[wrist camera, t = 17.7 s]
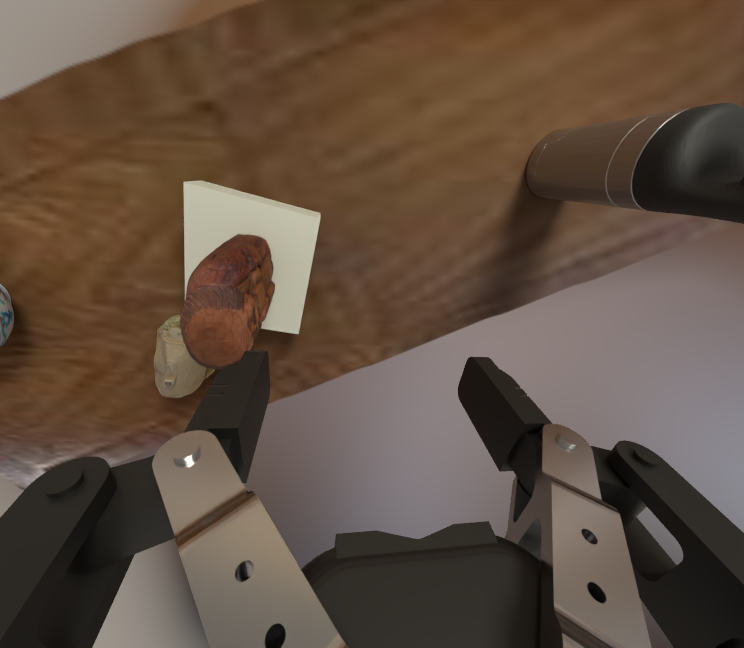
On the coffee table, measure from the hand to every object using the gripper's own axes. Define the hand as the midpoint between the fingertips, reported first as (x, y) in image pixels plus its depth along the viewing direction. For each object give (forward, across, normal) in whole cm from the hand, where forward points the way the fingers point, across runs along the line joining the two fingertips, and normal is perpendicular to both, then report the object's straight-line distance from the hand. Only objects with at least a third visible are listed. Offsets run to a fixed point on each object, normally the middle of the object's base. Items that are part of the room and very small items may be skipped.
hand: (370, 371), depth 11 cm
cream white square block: (+36, +12, +6) cm, 39 cm away
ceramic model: (+36, +24, +23) cm, 49 cm away
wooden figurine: (+30, +12, +7) cm, 34 cm away
